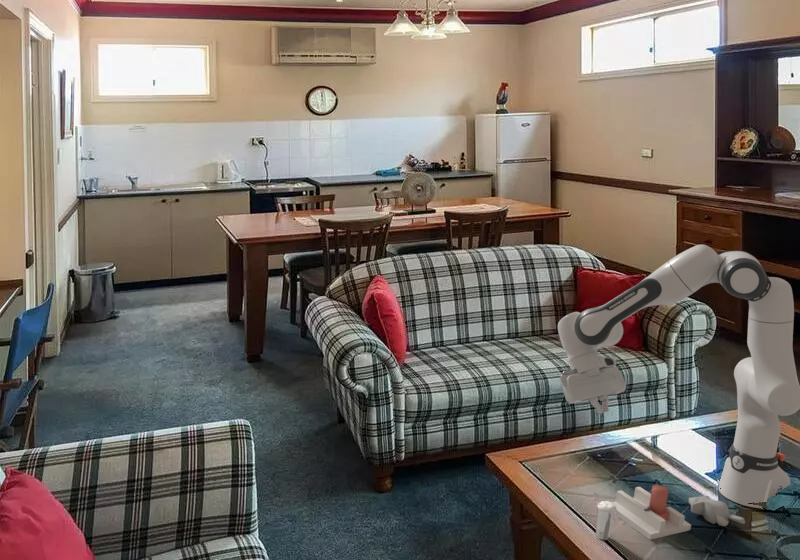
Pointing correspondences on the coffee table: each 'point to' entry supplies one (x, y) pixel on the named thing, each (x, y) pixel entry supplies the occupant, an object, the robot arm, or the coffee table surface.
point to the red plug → (659, 501)
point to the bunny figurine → (713, 510)
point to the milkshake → (605, 519)
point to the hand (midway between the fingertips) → (603, 412)
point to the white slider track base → (648, 515)
